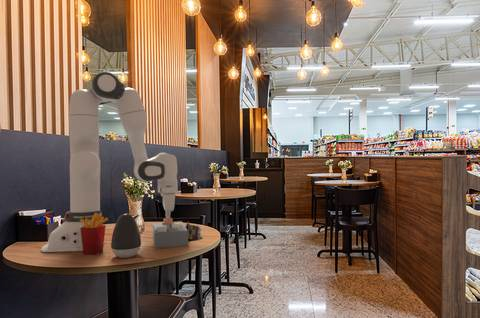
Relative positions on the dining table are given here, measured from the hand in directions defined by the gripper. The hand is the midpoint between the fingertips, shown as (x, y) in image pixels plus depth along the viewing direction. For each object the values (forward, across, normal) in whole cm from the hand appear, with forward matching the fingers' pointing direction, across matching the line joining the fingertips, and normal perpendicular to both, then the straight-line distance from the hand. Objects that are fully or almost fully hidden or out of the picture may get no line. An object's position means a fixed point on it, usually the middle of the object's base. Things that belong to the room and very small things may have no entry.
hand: (168, 218), depth 151 cm
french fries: (+8, +19, -28) cm, 34 cm away
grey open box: (+8, +8, 0) cm, 11 cm away
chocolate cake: (+9, +6, +10) cm, 15 cm away
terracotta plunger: (+5, 0, 0) cm, 5 cm away
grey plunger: (+6, +16, -3) cm, 17 cm away
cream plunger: (+6, +9, +3) cm, 11 cm away
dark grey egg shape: (+8, +28, -16) cm, 34 cm away
